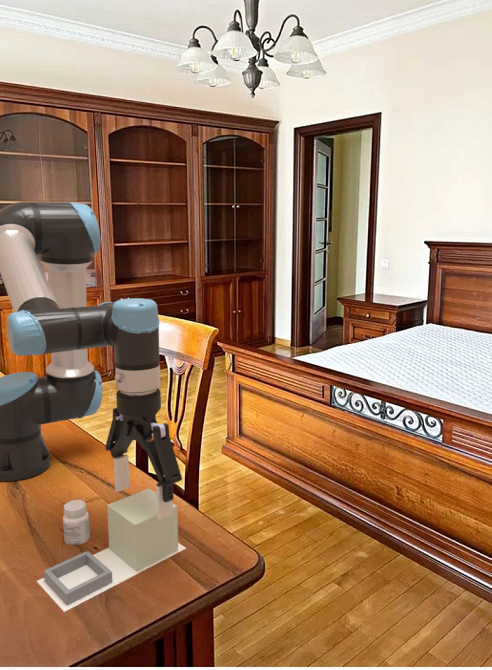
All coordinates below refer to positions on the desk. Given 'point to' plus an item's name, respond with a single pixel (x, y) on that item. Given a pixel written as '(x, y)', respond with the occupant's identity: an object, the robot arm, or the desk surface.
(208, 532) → the desk surface
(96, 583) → the board
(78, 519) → the pill bottle
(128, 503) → the housing
